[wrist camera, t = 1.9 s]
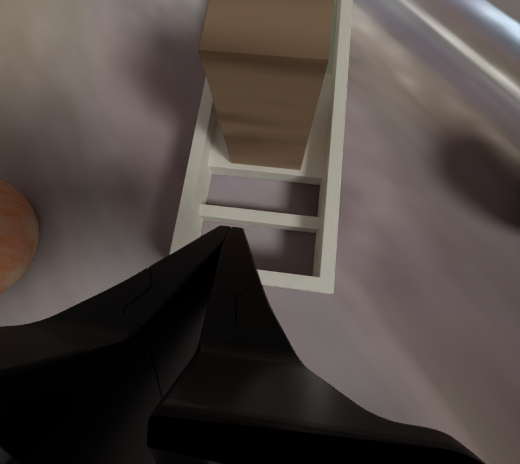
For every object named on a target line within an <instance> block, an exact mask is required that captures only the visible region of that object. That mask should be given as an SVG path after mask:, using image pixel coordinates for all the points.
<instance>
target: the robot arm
mask: <svg viewBox="0 0 520 464" xmlns="http://www.w3.org/2000/svg"><path fill="white" fill-rule="evenodd" d="M0 464H485V463H484V462H483V461H482V460H481V459H480V458H478V457H477V456H476V455H475V454H474V453H473V452H471V451H470V450H469V449H467V448H466V447H465V446H464V445H462V444H461V443H460V442H459V441H457V440H456V439H454V438H453V437H451V436H450V435H448V434H446V433H443V432H441V431H438V430H435V429H431V428H426V427H421V426H415V425H408V424H402V423H398V422H394V421H390V420H388V419H385V418H382V417H379V416H377V415H375V414H373V413H371V412H369V411H367V410H365V409H364V408H362V407H360V406H359V405H357V404H356V403H355V402H353V401H352V400H350V399H349V398H348V397H346V396H345V395H343V394H342V393H341V392H339V391H338V390H337V389H335V388H334V387H332V386H331V385H330V384H328V383H327V382H325V381H324V380H323V379H321V378H320V377H319V376H317V375H316V374H314V373H313V372H312V371H310V370H309V369H308V368H307V367H306V366H305V365H304V364H303V363H302V362H301V361H300V359H299V358H298V356H297V355H296V353H295V351H294V350H293V348H292V346H291V344H290V342H289V340H288V339H287V337H286V335H285V333H284V331H283V329H282V327H281V326H280V324H279V322H278V320H277V318H276V316H275V314H274V312H273V310H272V308H271V306H270V304H269V302H268V299H267V297H266V294H265V292H264V289H263V286H262V283H261V280H260V277H259V274H258V271H257V268H256V265H255V262H254V259H253V256H252V253H251V250H250V247H249V244H248V241H247V238H246V235H245V232H244V229H243V228H238V227H232V228H231V227H229V226H218V227H216V228H215V229H213V230H211V231H209V232H208V233H206V234H204V235H203V236H201V237H199V238H198V239H196V240H194V241H192V242H191V243H189V244H187V245H186V246H184V247H182V248H180V249H179V250H177V251H175V252H174V253H172V254H170V255H168V256H167V257H165V258H163V259H162V260H160V261H158V262H157V263H155V264H153V265H151V266H150V267H149V268H146V269H144V270H143V271H141V272H139V273H138V274H136V275H134V276H132V277H130V278H129V279H127V280H125V281H123V282H121V283H119V284H117V285H115V286H114V287H112V288H110V289H108V290H106V291H104V292H102V293H100V294H97V295H95V296H93V297H91V298H89V299H87V300H85V301H83V302H81V303H79V304H77V305H75V306H73V307H71V308H69V309H67V310H64V311H62V312H60V313H58V314H56V315H54V316H52V317H49V318H47V319H44V320H41V321H37V322H34V323H29V324H24V325H17V326H4V327H0Z"/></svg>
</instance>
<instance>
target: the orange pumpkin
mask: <svg viewBox="0 0 520 464" xmlns="http://www.w3.org/2000/svg"><path fill="white" fill-rule="evenodd" d="M39 237H40V231H39V223H38V220H37V217H36V214H35V212H34V210H33V208H32V206H31V205H30V204H29V202H28V201H27V200H26V198H25V197H24V196H23V195H22V194H21V193H20V192H19V191H18V190H17V189H16V188H14V187H13V186H11V185H10V184H8V183H7V182H5V181H3V180H1V179H0V294H1V293H3V292H5V291H6V290H7V289H9V288H10V287H12V286H13V285H14V284H15V283H16V282H17V281H18V280H19V279H20V278H21V277H22V276H23V275H24V273H25V272H26V271H27V269H28V268H29V266H30V265H31V263H32V261H33V259H34V257H35V254H36V252H37V249H38V244H39Z"/></svg>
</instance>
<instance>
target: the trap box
mask: <svg viewBox="0 0 520 464" xmlns="http://www.w3.org/2000/svg"><path fill="white" fill-rule="evenodd" d="M352 3H353V0H334V5H333V17H332V28H331V40H330V52H329V61H328V65H327V69H326V73H325V77H324V80H323V84H322V88H321V92H320V96H319V100H318V104H317V108H316V111H315V115H314V119H313V123H312V127H311V131H310V135H309V139H308V142H307V146H306V150H305V154H304V158H303V162H302V166H301V170H293V169H283V168H273V167H263V166H254V165H244V164H234V163H231V160H230V157H229V153H228V150H227V146H226V143H225V139H224V136H223V133H222V129H221V126H220V122H219V119H218V115H217V112H216V109H215V105H214V102H213V98H212V95H211V92H210V88H209V85H208V81H207V78H205V83H204V88H203V93H202V98H201V103H200V108H199V112H198V117H197V122H196V127H195V132H194V137H193V142H192V147H191V152H190V156H189V161H188V166H187V171H186V176H185V181H184V186H183V191H182V196H181V200H180V205H179V210H178V215H177V220H176V225H175V230H174V235H173V239H172V244H171V249H170V254H172V253H174V252H175V251H177V250H179V249H180V248H182V247H184V246H186V245H187V244H189V243H191V242H192V241H194V240H196V239H198V238H199V237H200V235H201V230H202V224H203V220H206V221H215V222H224V223H232V224H241V225H249V226H258V227H266V228H275V229H284V230H292V231H301V232H309V233H316V239H315V251H314V263H313V275H312V276H304V275H296V274H288V273H281V272H273V271H265V270H257V271H258V274H259V277H260V280H261V283H262V286H270V287H277V288H285V289H293V290H300V291H308V292H316V293H323V294H333V293H334V277H335V262H336V247H337V232H338V216H339V201H340V186H341V171H342V156H343V140H344V125H345V110H346V95H347V79H348V64H349V49H350V34H351V18H352ZM212 174H220V175H229V176H239V177H248V178H258V179H267V180H277V181H286V182H296V183H305V184H315V185H320V192H319V204H318V215H317V217H311V216H302V215H294V214H285V213H276V212H267V211H258V210H249V209H240V208H232V207H223V206H214V205H206V202H207V197H208V191H209V186H210V180H211V175H212ZM170 254H169V255H170Z"/></svg>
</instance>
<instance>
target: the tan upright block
mask: <svg viewBox="0 0 520 464" xmlns="http://www.w3.org/2000/svg"><path fill="white" fill-rule="evenodd" d="M333 5H334V0H209V3H208V8H207V12H206V17H205V22H204V26H203V31H202V35H201V40H200V45H199V49H198V50H199V54H200V57H201V61H202V64H203V68H204V71H205V74H206V78H207V81H208V85H209V88H210V92H211V95H212V98H213V102H214V105H215V109H216V112H217V115H218V119H219V122H220V126H221V129H222V133H223V136H224V139H225V143H226V146H227V150H228V153H229V157H230V160H231V163H234V164H244V165H254V166H263V167H273V168H283V169H293V170H301V166H302V162H303V158H304V154H305V150H306V146H307V142H308V139H309V135H310V131H311V127H312V123H313V119H314V115H315V111H316V108H317V104H318V100H319V96H320V92H321V88H322V84H323V80H324V77H325V73H326V69H327V65H328V61H329V52H330V40H331V28H332V17H333Z"/></svg>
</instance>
